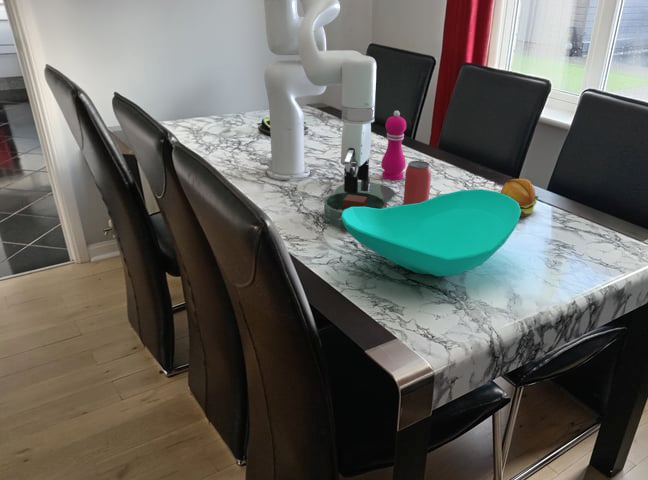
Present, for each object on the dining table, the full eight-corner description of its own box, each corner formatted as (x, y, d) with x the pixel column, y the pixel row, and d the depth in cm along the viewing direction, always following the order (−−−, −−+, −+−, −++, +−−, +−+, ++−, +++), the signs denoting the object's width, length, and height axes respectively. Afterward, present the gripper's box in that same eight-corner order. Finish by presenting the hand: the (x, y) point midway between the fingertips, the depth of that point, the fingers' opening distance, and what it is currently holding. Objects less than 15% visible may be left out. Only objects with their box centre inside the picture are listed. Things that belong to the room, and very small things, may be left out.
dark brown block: (342, 218, 143) (343, 199, 140) (347, 213, 146) (348, 194, 144) (362, 221, 142) (363, 202, 139) (366, 215, 145) (367, 196, 143)
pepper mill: (402, 183, 169) (407, 114, 159) (378, 181, 170) (381, 112, 160) (406, 176, 175) (411, 109, 166) (383, 173, 176) (386, 106, 167)
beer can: (410, 214, 149) (414, 169, 143) (398, 205, 154) (401, 161, 148) (432, 210, 152) (436, 166, 146) (419, 202, 157) (423, 159, 151)
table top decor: (465, 228, 143) (472, 176, 136) (542, 277, 122) (554, 219, 115) (317, 256, 125) (316, 198, 118) (377, 318, 104) (381, 252, 98)
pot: (311, 230, 137) (311, 212, 134) (337, 200, 154) (338, 184, 152) (374, 239, 134) (375, 222, 132) (393, 208, 152) (394, 192, 149)
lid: (327, 201, 153) (327, 183, 151) (345, 182, 167) (345, 165, 165) (386, 210, 150) (388, 191, 148) (400, 189, 164) (401, 172, 162)
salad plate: (292, 122, 225) (292, 110, 223) (321, 132, 214) (321, 120, 212) (250, 129, 213) (249, 116, 211) (278, 140, 202) (278, 127, 200)
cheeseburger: (536, 206, 158) (543, 175, 151) (530, 229, 151) (537, 197, 144) (500, 200, 160) (504, 169, 154) (492, 222, 153) (497, 190, 146)
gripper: (353, 105, 139) (351, 173, 148) (330, 120, 125) (330, 195, 133) (383, 108, 138) (380, 177, 146) (364, 123, 123) (362, 199, 131)
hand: (356, 185), depth 140 cm, fingers open, 9 cm apart
